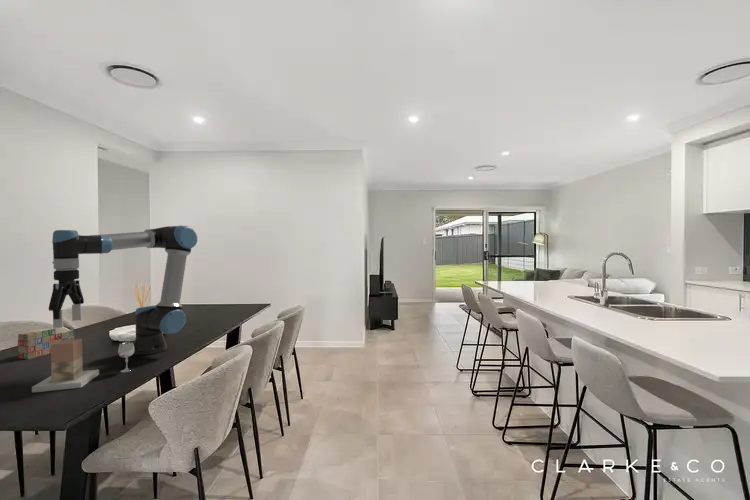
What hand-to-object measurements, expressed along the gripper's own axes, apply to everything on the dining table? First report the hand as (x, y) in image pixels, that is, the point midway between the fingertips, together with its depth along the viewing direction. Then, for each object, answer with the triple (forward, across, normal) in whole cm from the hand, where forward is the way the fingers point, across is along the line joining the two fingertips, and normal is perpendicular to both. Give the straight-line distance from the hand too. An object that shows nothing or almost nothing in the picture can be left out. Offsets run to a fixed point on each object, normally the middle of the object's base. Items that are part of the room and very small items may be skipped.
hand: (67, 323), depth 139 cm
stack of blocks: (+24, -54, -33) cm, 67 cm away
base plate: (+23, 0, 0) cm, 23 cm away
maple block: (+21, 0, 0) cm, 21 cm away
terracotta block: (+14, 0, 0) cm, 14 cm away
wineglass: (+24, -8, +17) cm, 30 cm away
